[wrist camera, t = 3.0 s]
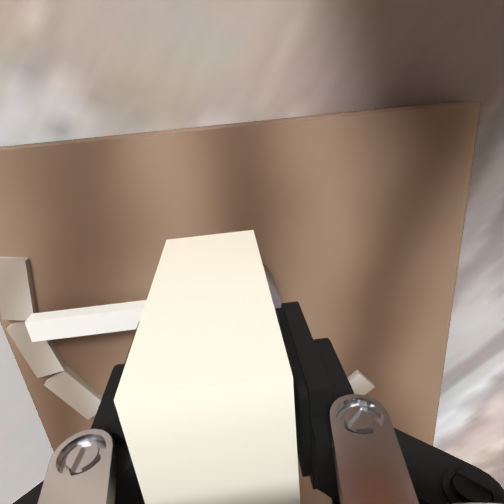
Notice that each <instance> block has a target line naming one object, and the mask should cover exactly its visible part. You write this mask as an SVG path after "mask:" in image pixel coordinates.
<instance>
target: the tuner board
mask: <svg viewBox="0 0 504 504" xmlns="http://www.w3.org/2000/svg"><path fill="white" fill-rule="evenodd" d="M480 106H481V102H461V101H454V102H444V103H434V104H424V105H414V106H404V107H394V108H384V109H374V110H364V111H354V112H344V113H334V114H324V115H314V116H304V117H294V118H284V119H274V120H264V121H254V122H244V123H234V124H224V125H214V126H204V127H194V128H184V129H174V130H164V131H154V132H144V133H134V134H124V135H114V136H104V137H94V138H84V139H74V140H64V141H54V142H44V143H34V144H24V145H14V146H4V147H0V322H1V325H2V327H3V330H4V332H5V334H6V337H7V339H8V342H9V344H10V347H11V349H12V351H13V354H14V356H15V359H16V361H17V363H18V366H19V368H20V371H21V373H22V376H23V378H24V380H25V383H26V385H27V388H28V390H29V392H30V395H31V397H32V400H33V402H34V405H35V407H36V409H37V412H38V414H39V417H40V419H41V421H42V424H43V426H44V429H45V431H46V434H47V436H48V438H49V441H50V443H51V446H52V448H53V450H54V452H55V450H56V449H57V448H58V447H59V445H61V444H62V443H63V442H64V441H65V440H66V439H68V438H69V437H71V436H73V435H75V434H76V433H79V432H82V431H84V430H89V429H91V426H92V424H93V421H94V418H95V416H96V413H97V410H98V407H99V405H100V402H101V399H102V397H103V394H104V391H105V389H106V386H107V383H108V380H109V378H110V375H111V372H112V370H113V368H114V366H115V365H116V364H124V363H125V361H126V358H127V355H128V352H129V349H130V346H131V343H132V340H133V337H134V334H135V331H136V329H135V330H126V331H118V332H110V333H102V334H94V335H86V336H78V337H70V338H62V339H53V340H45V341H37V342H32V341H31V338H30V335H29V333H28V330H27V328H26V325H25V321H26V320H27V319H28V317H29V316H30V315H31V314H33V313H41V312H49V311H58V310H66V309H74V308H83V307H91V306H99V305H108V304H116V303H125V302H133V301H141V300H147V297H148V294H149V291H150V288H151V285H152V282H153V279H154V276H155V273H156V270H157V267H158V264H159V261H160V258H161V255H162V252H163V249H164V246H165V243H166V240H168V239H176V238H185V237H194V236H203V235H212V234H221V233H230V232H238V231H247V230H254V234H255V238H256V241H257V245H258V249H259V252H260V256H261V260H262V262H263V263H264V264H265V265H266V267H267V268H268V269H269V270H270V272H271V273H272V275H273V278H274V280H275V283H276V286H277V290H278V293H279V296H280V299H281V302H282V303H287V302H295V301H298V302H299V305H300V307H301V310H302V312H303V315H304V317H305V320H306V323H307V325H308V328H309V330H310V333H311V335H312V338H313V339H321V338H329V339H330V341H331V343H332V345H333V348H334V350H335V352H336V354H337V356H338V359H339V361H340V363H341V365H342V367H343V369H344V372H345V374H346V376H347V378H348V380H349V383H350V385H351V387H352V389H353V391H354V394H361V395H365V396H369V397H372V398H373V399H375V400H377V401H378V402H380V403H381V404H382V405H383V406H384V407H385V408H386V410H387V412H388V414H389V416H390V419H391V422H392V425H393V427H394V428H396V429H398V430H400V431H402V432H404V433H406V434H408V435H410V436H413V437H415V438H417V439H419V440H421V441H423V442H425V443H427V444H429V445H431V446H433V441H434V434H435V427H436V420H437V413H438V405H439V398H440V391H441V384H442V377H443V370H444V363H445V355H446V348H447V341H448V334H449V327H450V320H451V313H452V305H453V298H454V291H455V284H456V277H457V270H458V263H459V255H460V248H461V241H462V234H463V227H464V220H465V213H466V206H467V198H468V191H469V184H470V177H471V170H472V163H473V156H474V148H475V141H476V134H477V127H478V120H479V113H480ZM297 456H298V455H297ZM298 473H299V491H300V504H331V498H330V497H329V496H327V495H326V494H324V493H323V492H321V491H320V490H318V489H313V488H312V484H311V480H310V476H307V477H303V476H302V472H301V468H300V464H299V459H298Z"/></svg>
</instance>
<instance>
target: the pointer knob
mask: <svg viewBox="0 0 504 504" xmlns="http://www.w3.org/2000/svg"><path fill="white" fill-rule="evenodd" d="M281 303H282V302H281V299H280V296H279V293H278V290H277V286H276V283H275V280H274V278H273V275H272V273H271V272H270V270H269V269H268V268H267V267H266V265H265V264H264V263H263V262H262V260H261V256H260V252H259V249H258V245H257V241H256V238H255V234H254V230H247V231H238V232H230V233H221V234H212V235H203V236H194V237H185V238H176V239H168V240H166V243H165V246H164V249H163V252H162V255H161V258H160V261H159V264H158V267H157V270H156V273H155V276H154V279H153V282H152V285H151V288H150V291H149V294H148V297H147V300H141V301H133V302H125V303H116V304H108V305H99V306H91V307H83V308H74V309H66V310H58V311H49V312H41V313H33V314H31V315H30V316H29V317H28V319H27V320H26V321H25V325H26V328H27V330H28V333H29V335H30V338H31V341H32V342H37V341H45V340H53V339H62V338H70V337H78V336H86V335H94V334H102V333H110V332H118V331H126V330H135V329H136V328H137V325H138V322H139V321H140V322H139V325H138V328H137V331H136V334H135V337H134V340H133V343H132V346H131V349H130V352H129V355H128V358H127V361H126V364H125V367H124V370H123V373H122V376H121V379H120V382H119V385H118V388H117V391H116V394H115V398H114V403H115V406H116V410H117V413H118V416H119V420H120V423H121V426H122V429H123V433H124V436H125V439H126V443H127V446H128V449H129V452H130V456H131V459H132V462H133V466H134V469H135V472H136V475H137V479H138V482H139V485H140V489H141V492H142V495H143V499H144V502H145V504H300V491H299V473H298V456H297V438H296V421H295V404H294V386H293V375H292V371H291V368H290V364H289V360H288V356H287V353H286V349H285V345H284V342H283V338H282V334H281V330H280V327H279V323H278V319H277V316H276V308H281Z"/></svg>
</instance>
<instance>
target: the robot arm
mask: <svg viewBox="0 0 504 504" xmlns="http://www.w3.org/2000/svg"><path fill="white" fill-rule="evenodd" d="M276 316H277V319H278V323H279V327H280V330H281V334H282V338H283V342H284V345H285V349H286V353H287V356H288V360H289V364H290V368H291V371H292V375H293V386H294V404H295V421H296V438H297V455H298V459H299V464H300V468H301V472H302V476H303V477H307V476H310V480H311V484H312V488H313V489H318V490H320V491H321V492H323V493H324V494H326V495H327V496H329V497H330V498H331V504H504V489H503V488H502V487H501V485H500V484H499V483H498V482H497V481H496V480H495V479H494V478H492V477H491V476H490V475H489V474H487V473H486V472H484V471H482V470H481V469H479V468H477V467H475V466H473V465H471V464H469V463H467V462H465V461H462V460H460V459H458V458H456V457H454V456H452V455H450V454H448V453H446V452H444V451H442V450H440V449H438V448H435V447H433V446H431V445H429V444H427V443H425V442H423V441H421V440H419V439H417V438H415V437H413V436H410V435H408V434H406V433H404V432H402V431H400V430H398V429H396V428H394V427H393V425H392V422H391V419H390V416H389V414H388V412H387V410H386V408H385V407H384V406H383V405H382V404H381V403H380V402H378V401H377V400H375V399H373V398H372V397H369V396H365V395H361V394H354V391H353V389H352V387H351V385H350V383H349V380H348V378H347V376H346V374H345V372H344V369H343V367H342V365H341V363H340V361H339V359H338V356H337V354H336V352H335V350H334V348H333V345H332V343H331V341H330V339H329V338H321V339H313V338H312V335H311V333H310V330H309V328H308V325H307V323H306V320H305V317H304V315H303V312H302V310H301V307H300V305H299V302H298V301H295V302H287V303H281V308H276ZM139 322H140V321H139ZM139 322H138V325H139ZM138 325H137V328H138ZM137 328H136V331H137ZM136 331H135V334H136ZM135 334H134V337H135ZM134 337H133V340H134ZM133 340H132V343H133ZM132 343H131V346H132ZM131 346H130V349H131ZM130 349H129V352H130ZM129 352H128V355H129ZM128 355H127V358H128ZM127 358H126V361H127ZM126 361H125V363H124V364H116V365H115V366H114V368H113V370H112V372H111V375H110V378H109V380H108V383H107V386H106V389H105V391H104V394H103V397H102V399H101V402H100V405H99V407H98V410H97V413H96V416H95V418H94V421H93V424H92V426H91V429H89V430H84V431H82V432H79V433H76V434H75V435H73V436H71V437H69V438H68V439H66V440H65V441H64V442H63V443H62V444H61V445H59V447H58V448H57V449H56V450H55V452H54V453H53V455H52V457H51V459H50V461H49V465H48V468H47V472H46V475H45V479H44V481H42V482H41V483H40V484H38V485H37V486H36V487H34V488H33V489H32V490H30V491H29V492H28V493H26V494H25V495H24V496H22V497H21V498H20V499H18V500H17V501H16V502H14V503H13V504H145V502H144V499H143V495H142V492H141V489H140V485H139V482H138V479H137V475H136V472H135V469H134V466H133V462H132V459H131V456H130V452H129V449H128V446H127V443H126V439H125V436H124V433H123V429H122V426H121V423H120V420H119V416H118V413H117V410H116V406H115V403H114V398H115V394H116V391H117V388H118V385H119V382H120V379H121V376H122V373H123V370H124V367H125V364H126Z"/></svg>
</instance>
